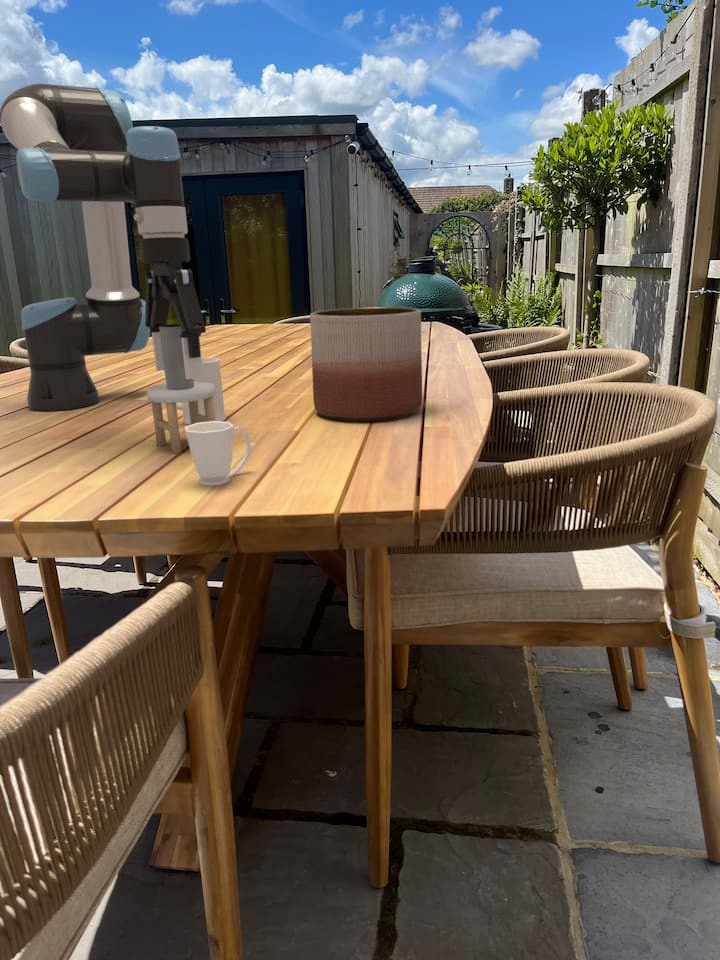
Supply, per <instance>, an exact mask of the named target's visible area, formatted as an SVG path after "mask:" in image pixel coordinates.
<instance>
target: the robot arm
mask: <svg viewBox="0 0 720 960" xmlns="http://www.w3.org/2000/svg"><path fill="white" fill-rule="evenodd" d="M0 127H1V130H2V132H3V134H4V137H6V139H7V140H8V141H9V143H10V144H11V145H13V146H14V148H16V149H17V152H16V166H17V167H16V168H17V169H16V170H17V175H18V179H19V185H20V188H21V193H22V194H23V196H24V198H26V199H27V200H30V201H40V202H41V201H42V202H46V203H53V202H81V207H82V214H83V215H82V217H83V223H84V232H85V239H86V241H85V242H86V248H87V256H88V264H89V273H90V274H89V275H90V281H91V287H90V289H89V290H87V292H86V293H85V299H86V302H84V303H83V302H82V303H78V302H77V300H76V298H75V297H72V296H71V297H64V298H63V297H62V298H55V299H49V300H45V301H44V300H43V301H40V302H34V303H30V304H27V305H25V306H24V307H22V308H21V312H20V316H21V317H20V318H21V325H22V326H21V329H22V331H23V334H24V340H25V346H26V352H27V358H28V363H29V368H30V378H29V384H28V390H27V396H26V401H27V407H28V409H29V410H31V411H32V410H33V411H37V412H38V411H39V412H41V411H44V412H45V411H46V412H50V411H64V410H73V409H79V408H85V407H88V406H93V405H95V404H98V403H99V402H100V396H99V391H98V389H97V387H96V384H95V383H94V381H93V379H92V377H91V375H90V372H88V369H87V364H86V359H85V358H86V357H87V356H99V355H111V354H121V353H123V354H128V353H131V352H138V351H142V350H143V349H145V348H146V347H147V345H148V342H149V339H150V333H151V337H152V347H153V353H154V355H153V356H154V359H155V360H154V362H155V369H156V371H157V372H161V371H165V370H164V362H163V354H162V345H161V337H160V329H159V326H161V325H168V317H169V311H170V307H171V305H172V308H173V310H174V313H175V315H176V319H177V321H178V324H180V326H181V329H182V331H183V332H181V334H180V338H181V339H182V348H183V357H184V366H185V375H186V379H194V378H201V377H203V367H202V358H203V357H202V350H201V342H200V340H201V339H200V337H201V335H202V334H204V333H206V331H207V329H206V325H205V321H204V318H203V317H204V316H203V314H202V310H201V309H202V308H201V306H200V302H199V299H198V294H197V291H196V288H195V283H194V274H193V270H192V269H183V268H182V263H188V262H190V260H191V253H190V245H189V244H190V243H189V240H188V239H187V238H186V237H185V235H187V234H188V221H187V215H186V214H187V212H186V206H185V198H184V186H183V177H182V166H181V165H182V164H181V155H182V154H181V152H180V148H179V143H178V142H179V141H178V136H177V134H176V132H174V130H172V129H171V128H169V127H165V126H164V127H163V126H156V125H155V126H153V125H151V126H146V125H145V126H142V125H141V126H133V120H132V116H131V113H130V110H129V107H128V105H127V103H126V101H125V99H124V98H123V96H122V95H121V93H120V92H118V91H115V90H112V89H106V88H99V87H88V86H73V85H59V84H58V85H57V84H50V83H34V84H29V85H26V86H22V87H21V88H18V89H16V90H15V91H14V92H12V93H11V94H9V95H8V96H7V97H6V98H5V100H4V101H3V102H2V105H1V107H0ZM125 203H131V204H133V205H134V208H135V209H134V210H135V214H133V219H134V221H136V222H137V223H136V224H137V232H138V235H140V236H142V238H140V241H139V249H140V259H141V262H142V263H143V264H145V265H146V264H151V265H152V270H145V271H144V278H145V300H144V299H141V296H140V295H141V294H140V292H139V291H138V290H136V288H135V287H134V286H133V283H132V274H131V264H130V262H131V261H130V260H131V259H130V251H129V241H128V239H129V238H128V229H127V221H126V220H127V218H126V209H125V207H126V206H125Z"/></svg>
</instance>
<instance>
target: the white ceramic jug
mask: <svg viewBox="0 0 720 960" xmlns="http://www.w3.org/2000/svg"><path fill="white" fill-rule="evenodd" d="M202 367H203V377H201V378H194V382H206V383H211V384H213V385H214V392H215V395H214V396H213V402H214V412H215V421H222V422H225V421H226V420H227V415H226V411H225V404H224V394H223V384H222V383H223V382H222V380H223V379H222V372H221V361H220V358H217V357H210V356H209V357H202ZM163 384H166V379H165V380H164V383H163ZM197 401H198V410H199V414H201V415H204V416H205V409H204V399H203V400H197ZM176 408H177V411H178V410H179V411H182V423H183V424H185V425H187V426H189V425H191V422H190V413H189V404H188V402H181V404H177V403H176Z"/></svg>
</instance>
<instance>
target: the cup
mask: <svg viewBox="0 0 720 960" xmlns="http://www.w3.org/2000/svg"><path fill="white" fill-rule="evenodd" d="M183 429H184V431H185V436H186V439H187V443H188V447H189V451H190V454H191V458H192V461H193V464H194V467H195V469H196V472H197V474H198V476H199V477H200V478H199V479H198V481H199V483H200V485H201V486H209V487H211V486H212V487H213V486H219V485H225V484H226V483H227V482H229V481H231V480H230V479H231V478H232V477H234V476H236V474H237V473H238V472H240V470H241V469H242V468H243V467H244V465H245V464H246V463H247V462H248V460H249V457H250V456H251V452H252V444H251V443H252V442H251V439H250V436H249V434H248V433H247V431H246V430H245V429H244V428H241V427H238V426H234V425H233V423H231V421H209V422H200V423H195V424H192V425H186V426H185V427H184V428H183ZM238 431H240V433H241V434H242V435H243V437H244V441H245V445H246V448H245V449H246V450H245V454H244V456H243V458H242V460H240V462H239V463H238V464H237V465H236V466H235V468H234V469H233V470H231V466H232V462H233V447H234V445H233V444H234V433H236V432H238Z"/></svg>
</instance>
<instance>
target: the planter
mask: <svg viewBox="0 0 720 960" xmlns="http://www.w3.org/2000/svg"><path fill="white" fill-rule="evenodd" d="M309 318H310V321H309V322H310V340H311V341H310V343H311V344H310V345H311V368H312V369H311V371H312V391H313V392H312V393H313V394H312V395H313V406H314V410H315V411H316V412H317V413H319V414H320V415H322V416H324V417H326V418H329V419H333V420H338V421H347V422H380V421H381V422H382V421H388V420H395V419H401V418H404V417H407V416H409V415H412V414H414V413H415V412H417V411H418V410H419V409H420V408H421V407H422V405H423V369H422V368H423V367H422V361H423V360H422V311H421V309H418V308H415V307H403V306H402V307H400V306H399V307H398V306H376V307H375V306H371V307H367V306H365V307H348V308H346V307H345V308H332V309H324V310H322V309H321V310H318V311H313V312H311V313H310V315H309Z"/></svg>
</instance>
